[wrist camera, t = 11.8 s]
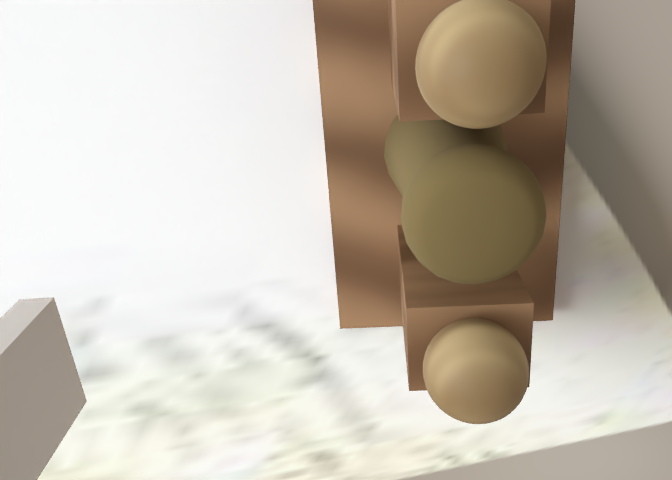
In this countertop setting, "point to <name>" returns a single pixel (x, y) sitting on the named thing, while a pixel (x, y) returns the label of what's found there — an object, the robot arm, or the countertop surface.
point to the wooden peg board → (386, 201)
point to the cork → (464, 199)
